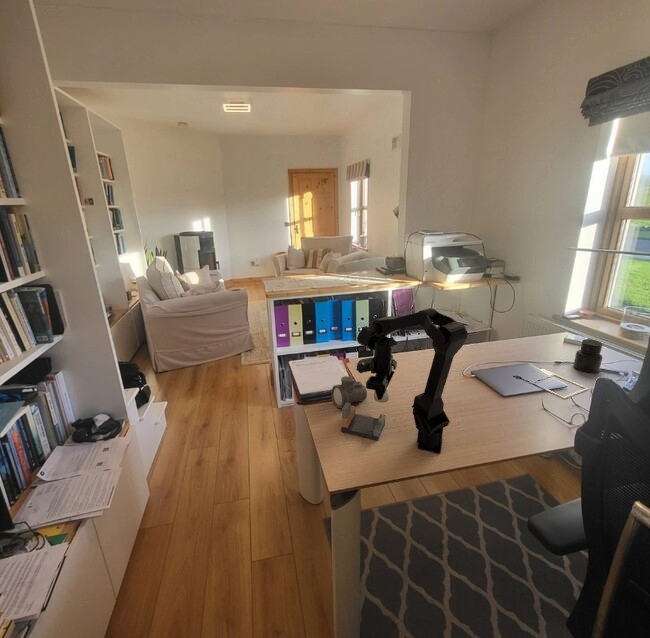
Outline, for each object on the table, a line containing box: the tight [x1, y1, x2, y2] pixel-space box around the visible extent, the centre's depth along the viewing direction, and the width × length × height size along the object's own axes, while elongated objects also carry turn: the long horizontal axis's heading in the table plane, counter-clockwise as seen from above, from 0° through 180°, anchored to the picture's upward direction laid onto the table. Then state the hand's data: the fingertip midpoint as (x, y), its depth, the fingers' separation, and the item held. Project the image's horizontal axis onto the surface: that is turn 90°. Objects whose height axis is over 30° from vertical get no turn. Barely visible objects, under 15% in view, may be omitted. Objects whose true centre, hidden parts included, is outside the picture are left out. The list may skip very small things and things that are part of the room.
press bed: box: [340, 413, 386, 442], centre depth 113 cm, size 12×9×4 cm
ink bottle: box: [573, 338, 603, 374], centre depth 146 cm, size 10×9×12 cm
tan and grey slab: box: [341, 402, 356, 428], centre depth 114 cm, size 2×8×6 cm, turn 157°
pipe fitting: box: [331, 375, 368, 409], centre depth 126 cm, size 12×8×10 cm
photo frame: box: [540, 368, 590, 400], centre depth 137 cm, size 15×1×18 cm
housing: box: [373, 385, 390, 403], centre depth 120 cm, size 5×5×5 cm
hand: (381, 395), depth 120 cm, fingers closed on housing, 5 cm apart
